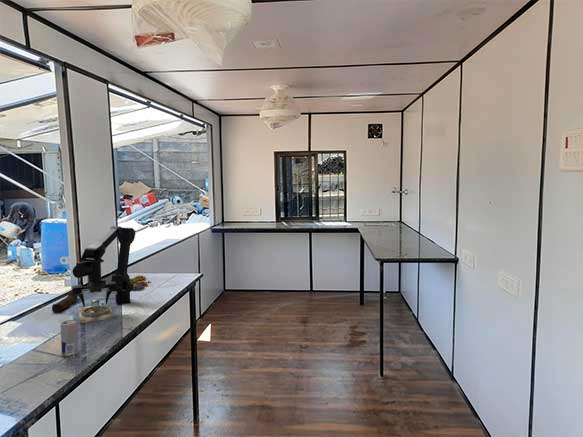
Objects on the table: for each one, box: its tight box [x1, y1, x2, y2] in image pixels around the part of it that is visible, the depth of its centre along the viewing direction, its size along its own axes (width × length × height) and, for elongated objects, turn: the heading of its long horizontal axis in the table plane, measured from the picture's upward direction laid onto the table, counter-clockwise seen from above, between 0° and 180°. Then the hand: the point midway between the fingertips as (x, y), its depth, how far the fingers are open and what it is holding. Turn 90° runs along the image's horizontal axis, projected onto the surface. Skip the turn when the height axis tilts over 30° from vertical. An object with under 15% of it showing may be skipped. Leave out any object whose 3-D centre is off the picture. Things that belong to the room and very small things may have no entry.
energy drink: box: [60, 319, 79, 357], centre depth 143 cm, size 5×5×12 cm
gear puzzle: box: [130, 275, 152, 292], centre depth 239 cm, size 31×16×4 cm, turn 7°
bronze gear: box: [86, 299, 105, 313], centre depth 184 cm, size 8×8×6 cm
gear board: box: [77, 301, 115, 324], centre depth 185 cm, size 14×20×3 cm
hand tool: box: [51, 291, 78, 314], centre depth 197 cm, size 23×5×6 cm, turn 4°
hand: (95, 305), depth 184 cm, fingers open, 9 cm apart
